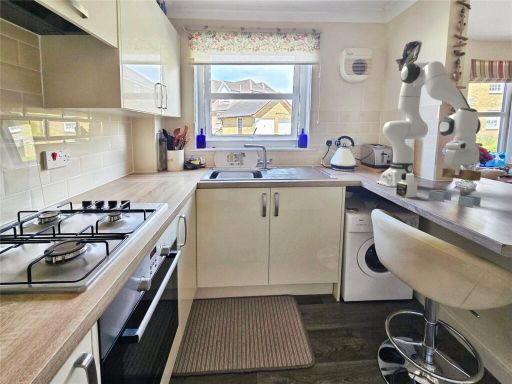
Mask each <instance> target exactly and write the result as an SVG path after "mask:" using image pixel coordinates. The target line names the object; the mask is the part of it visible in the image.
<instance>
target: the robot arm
mask: <svg viewBox="0 0 512 384" xmlns="http://www.w3.org/2000/svg"><path fill="white" fill-rule="evenodd" d="M400 80H401V81H402V84H401V87H400V91H399V97H398V105H397V109H398V111H399V113H401V114H402V115H404V116H405V120H391V121H387V122H386V123H384V124H383V126H382V134H383V136H384V137H385V138H386V139H387V140H388V141H389V143H390V144H391V148H392V162H388V166H389V167H388V169H386V170H384V171H383V172H382V173H381V174H380V176H379V177H380V178H379V180H376V181H375V183H376V184H378V183H379V184H378V185H382V186H387V187H391V188H392V187H393V188H395V187H396V188H397V182H402V181H401V175H402V174H403V173H412V174H413V168H414V162H413V160H414V149H413V148H412V147H411V146H410V145H407V143H406V140H418V139H422V138H425V137H426V136H427V134H428V132H429V127H428V123H426V122H425V120H423V119H422V116H421V114H420V103H421V95H422V88H423V86H424V85H425V86H424V87H425V90H426V92H427V94H428V95H429V97H430V98H432V99H434V100H437V101H441V102H444V103H445V104H448V105H450V106H452V107H453V108H454V110H455V112H454V113H453V114H451V115H448V116H445V117H443V118H442V119H441V120H440V121H439V122H438V123H439V124H438V132H439V134H440V135H441V136H443V137H447V138H448V137H449V138H450V137H453V139H452V140H451V141H449V142H447V143H446V144H445V149H446V150H445V153H444V165H445V166H449V167H453V169H455V175H460V174H461V171H460V168H461V166H462V170H468V169H469V168H470V165H478V163H479V162H480V149H479V146H478V145H477V144H476V143H477V134H479V131H480V130H481V127H482V123H481V121H480V119H479V112H478V110H477V109H475V108H472V107H471V106H470V104H469V103H468V101H467V99H466V97H465V96H464V94H463V93H462V91H461V90H459V88H458V87H457V86H456V85H455V84H454V83H453V82H452V80H451V78H450V75H449V73H448V71H447V69H446V67H445V65H444V64H443V63H442V62H441V61H440V60H439V61H438V60H435V61H431V62H429V61H428V62H427V61H423V62H409V63H406V64H405V65H403V67H402V68H401V69H400Z"/></svg>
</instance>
